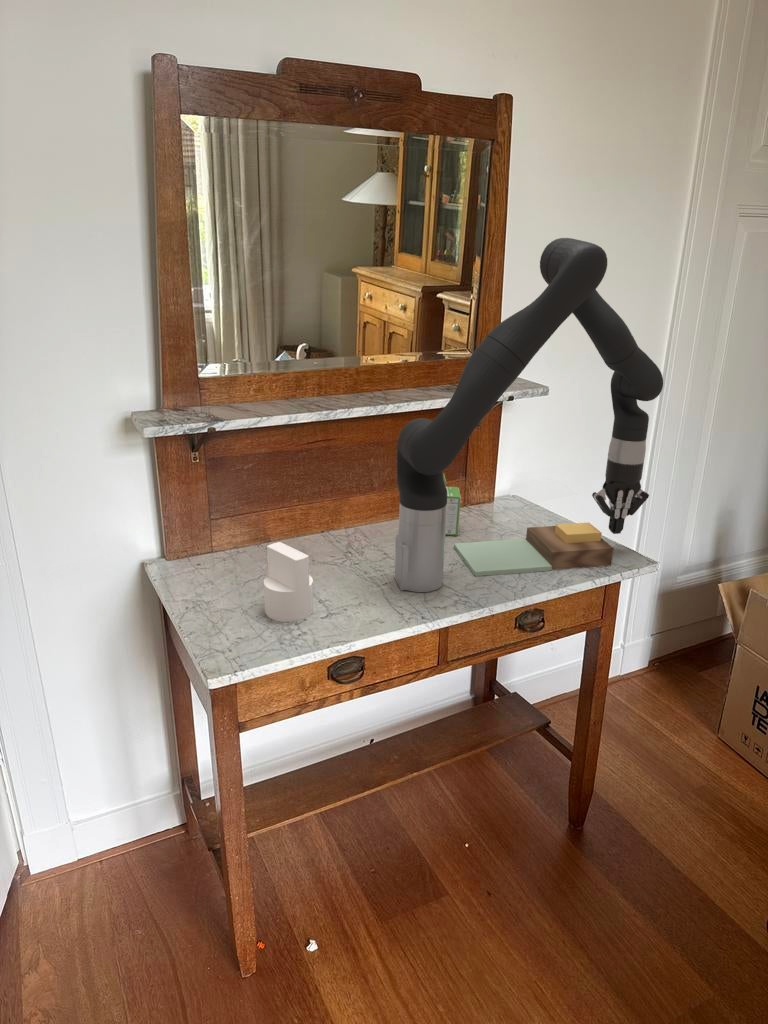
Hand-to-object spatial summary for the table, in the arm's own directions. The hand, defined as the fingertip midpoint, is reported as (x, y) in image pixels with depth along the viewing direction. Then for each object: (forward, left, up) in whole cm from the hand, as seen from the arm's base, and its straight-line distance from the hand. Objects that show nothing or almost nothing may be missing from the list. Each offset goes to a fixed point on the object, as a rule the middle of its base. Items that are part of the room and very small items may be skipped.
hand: (615, 532), depth 168 cm
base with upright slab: (-74, -15, -5) cm, 76 cm away
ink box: (-33, +18, -5) cm, 38 cm away
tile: (-9, 0, 0) cm, 9 cm away
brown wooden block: (-11, 0, -4) cm, 12 cm away
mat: (-26, 0, -4) cm, 27 cm away
